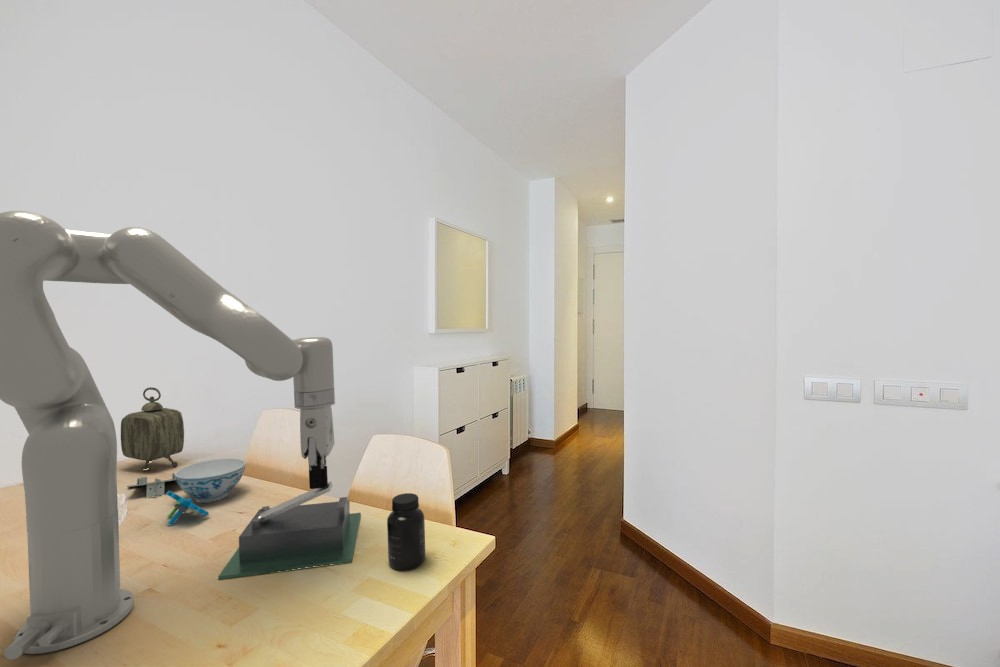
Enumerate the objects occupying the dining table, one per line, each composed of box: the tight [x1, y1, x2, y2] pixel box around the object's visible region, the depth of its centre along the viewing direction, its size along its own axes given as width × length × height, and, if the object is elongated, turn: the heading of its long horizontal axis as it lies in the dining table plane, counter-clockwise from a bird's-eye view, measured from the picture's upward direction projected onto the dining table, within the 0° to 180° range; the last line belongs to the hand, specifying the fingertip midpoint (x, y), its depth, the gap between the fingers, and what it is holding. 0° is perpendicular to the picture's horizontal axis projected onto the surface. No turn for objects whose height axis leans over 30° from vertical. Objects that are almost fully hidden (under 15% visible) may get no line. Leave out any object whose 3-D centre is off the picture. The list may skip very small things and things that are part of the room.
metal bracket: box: [126, 471, 176, 498], centre depth 115 cm, size 14×6×15 cm
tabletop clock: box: [120, 387, 185, 470], centre depth 131 cm, size 14×9×25 cm, turn 74°
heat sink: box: [217, 496, 362, 580], centre depth 86 cm, size 20×22×8 cm
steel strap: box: [257, 481, 333, 522], centre depth 86 cm, size 4×14×1 cm, turn 103°
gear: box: [165, 490, 209, 526], centre depth 96 cm, size 11×6×10 cm
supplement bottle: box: [386, 493, 426, 572], centre depth 79 cm, size 7×7×12 cm
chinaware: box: [174, 457, 246, 503], centre depth 109 cm, size 15×15×8 cm
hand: (318, 486), depth 87 cm, fingers closed
